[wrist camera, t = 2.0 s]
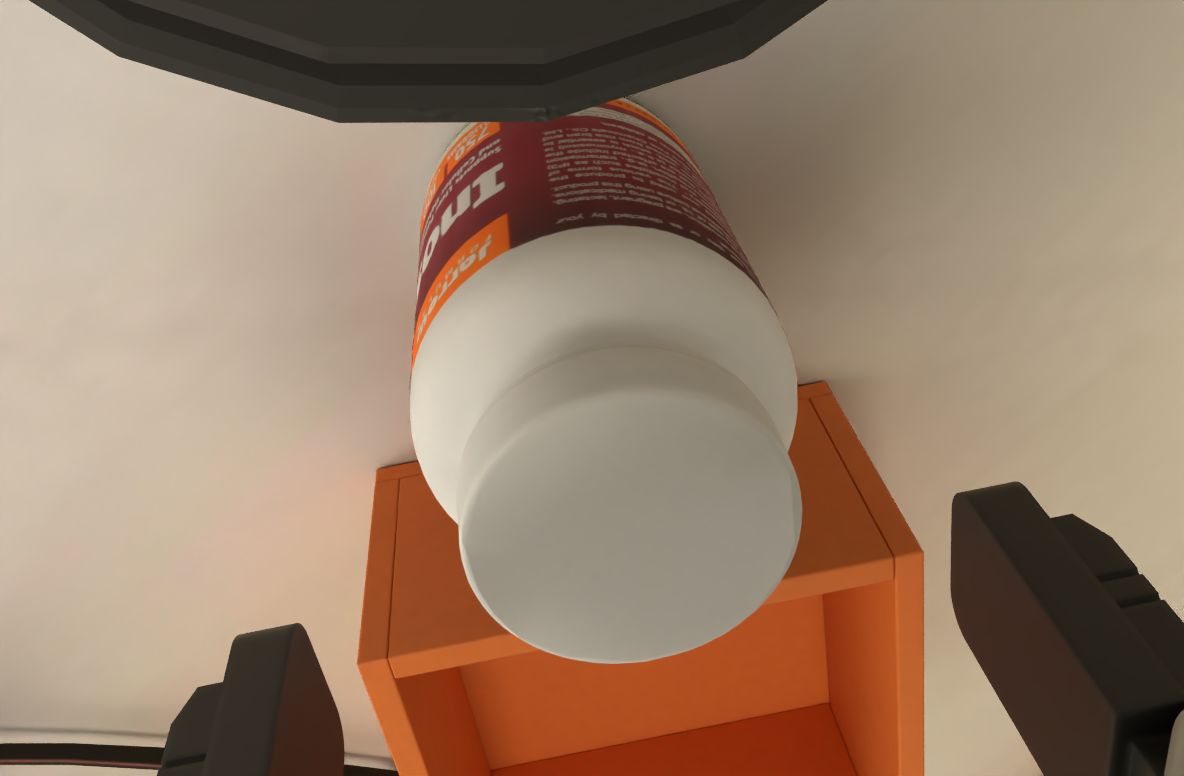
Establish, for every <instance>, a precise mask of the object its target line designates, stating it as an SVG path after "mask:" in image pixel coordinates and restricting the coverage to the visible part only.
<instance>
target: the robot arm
mask: <svg viewBox="0 0 1184 776" xmlns="http://www.w3.org/2000/svg"><path fill="white" fill-rule="evenodd" d="M951 597H952V603H953V608H954V612H955V616H956V619H957V622H958V625H959V627H960V630H961V632H962V634H963V636H964V638H965V640H966V642H967V644H968V645H969V647H970V649H971V651H972V652H973V654H974V656H975V657H976V659H977V661H978V663H979V664H980V666H981V668H982V670H983V671H984V673H985V675H986V676H987V678H988V680H989V682H990V683H991V685H992V687H993V688H994V690H995V692H996V694H997V695H998V697H999V699H1000V701H1001V702H1002V704H1003V706H1004V707H1005V709H1006V711H1007V713H1008V714H1009V716H1010V718H1011V719H1012V721H1013V723H1014V725H1015V726H1016V728H1017V730H1018V732H1019V733H1020V735H1021V737H1022V738H1023V740H1024V742H1025V744H1026V745H1027V747H1028V749H1029V750H1030V752H1031V754H1032V756H1033V757H1034V759H1035V761H1036V763H1037V764H1038V766H1039V768H1040V769H1041V771H1042V773H1043V775H1044V776H1184V623H1183V622H1182V620H1181V619H1180V618H1179V617H1178V616H1177V615H1176V613H1175V612H1174V611H1173V610H1172V609H1171V607H1170V606H1169V605H1168V604H1167V603H1166V601H1165V600H1160V598H1159V593H1158V592H1157V591H1156V590H1155V588H1154V587H1153V586H1152V585H1151V584H1150V582H1149V581H1148V580H1147V579H1146V578H1145V576H1144V575H1143V574H1141V575H1139V573H1138V569H1137V567H1136V566H1135V564H1134V563H1133V562H1132V561H1131V560H1130V559H1129V557H1128V556H1127V555H1126V554H1125V553H1124V551H1123V550H1122V549H1121V548H1120V547H1119V545H1118V544H1117V543H1116V542H1115V541H1114V539H1113V538H1112V537H1110V536H1109V535H1107V534H1105V533H1104V532H1102V531H1100V530H1099V529H1097V528H1095V527H1094V526H1092V525H1090V524H1089V523H1087V522H1085V521H1083V520H1082V519H1080V518H1078V517H1077V516H1075V515H1073V514H1069V515H1064V516H1059V517H1054V518H1050V517H1049V516H1048V515H1047V514H1046V512H1045V511H1044V510H1043V509H1042V507H1041V506H1040V505H1039V503H1038V502H1037V501H1036V500H1035V498H1034V497H1033V496H1032V494H1031V493H1030V492H1029V491H1028V489H1027V488H1026V487H1025V486H1024V485H1023V484H1021V483H1020V482H1010V483H1005V484H1000V485H995V486H990V487H985V488H980V489H975V490H970V491H965V492H960V493H957V494H956V495H955V496H954V498H953V502H952V525H951ZM161 766H162V768H161V770H158V774H157V776H343V769H344V740H343V732H342V726H341V721H340V717H339V713H338V710H337V707H336V705H335V702H334V700H333V697H332V695H331V692H330V690H329V687H328V685H327V682H326V680H325V677H324V675H323V672H322V670H321V667H320V664H319V662H318V659H317V657H316V654H315V652H314V649H313V647H312V644H311V642H310V639H309V637H308V635H307V632H306V630H305V629H304V627H303V626H302V625H301V624H300V623H295V624H290V625H285V626H280V627H275V628H270V629H265V630H260V631H255V632H250V633H245V634H240V635H238V636H236V637H235V639H234V641H233V643H232V646H231V651H230V655H229V659H228V663H227V668H226V672H225V676H224V681H223V682H221V683H216V684H211V685H206V686H201V687H198V688H197V689H196V691H195V692H194V693H193V695H192V696H191V698H190V699H189V700H188V702H187V703H186V704H185V706H184V707H183V709H182V710H181V711H180V713H179V714H178V716H177V717H176V718H175V720H174V721H173V723H172V724H171V727H170V731H169V734H168V738H167V742H166V745H165V749H164V752H163V756H162V760H161Z"/></svg>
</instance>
